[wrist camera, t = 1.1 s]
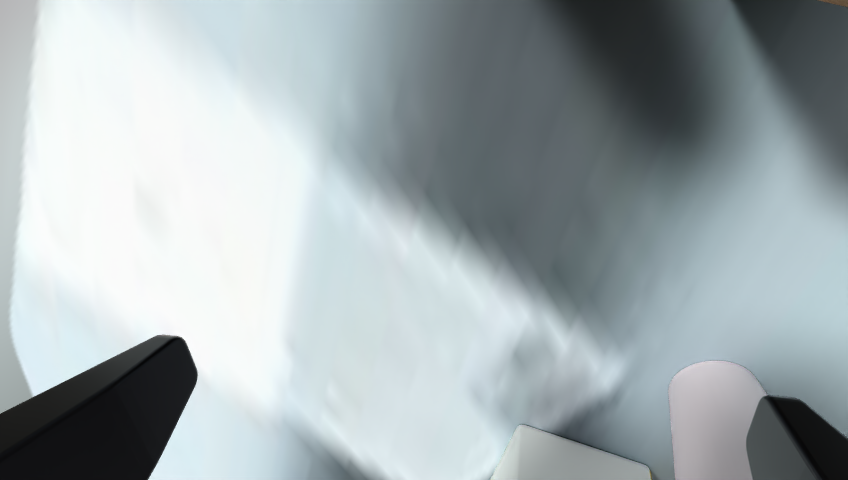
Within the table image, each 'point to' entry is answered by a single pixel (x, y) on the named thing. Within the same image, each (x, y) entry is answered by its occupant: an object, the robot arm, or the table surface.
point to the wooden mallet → (837, 2)
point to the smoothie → (712, 420)
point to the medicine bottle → (561, 460)
